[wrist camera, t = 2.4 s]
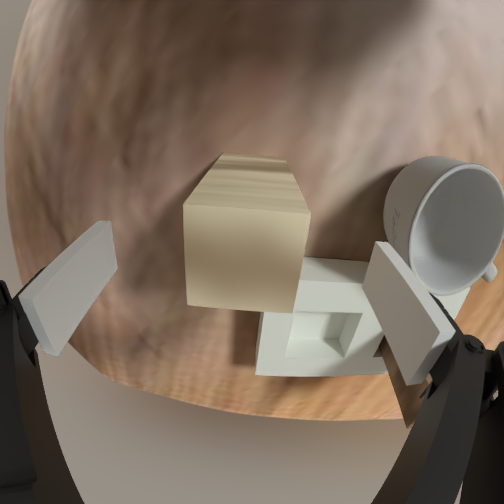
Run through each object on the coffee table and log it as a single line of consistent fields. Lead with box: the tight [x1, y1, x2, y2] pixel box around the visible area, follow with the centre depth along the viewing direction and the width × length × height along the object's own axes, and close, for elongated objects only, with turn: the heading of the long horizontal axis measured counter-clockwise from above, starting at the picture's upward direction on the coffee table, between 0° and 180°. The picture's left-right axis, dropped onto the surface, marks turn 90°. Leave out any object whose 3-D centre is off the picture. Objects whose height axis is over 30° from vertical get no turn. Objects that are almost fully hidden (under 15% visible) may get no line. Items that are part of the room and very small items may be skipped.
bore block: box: [255, 257, 470, 377], centre depth 28 cm, size 13×22×4 cm, turn 86°
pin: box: [183, 153, 311, 313], centre depth 18 cm, size 5×5×13 cm
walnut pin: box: [378, 335, 432, 429], centre depth 23 cm, size 5×5×13 cm
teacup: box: [383, 156, 504, 296], centre depth 20 cm, size 14×11×8 cm
